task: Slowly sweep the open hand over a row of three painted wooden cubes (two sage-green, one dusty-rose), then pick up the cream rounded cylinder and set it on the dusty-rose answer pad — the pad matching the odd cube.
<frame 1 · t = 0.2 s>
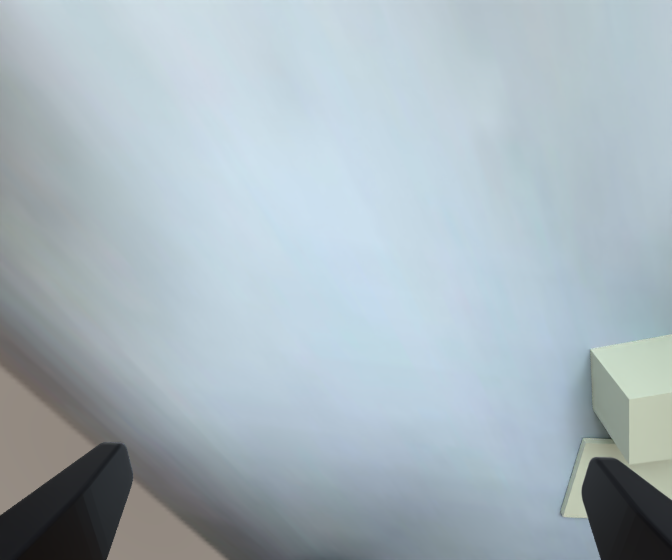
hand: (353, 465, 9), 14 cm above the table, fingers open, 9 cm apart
cube sage b: (630, 372, 25), on the table
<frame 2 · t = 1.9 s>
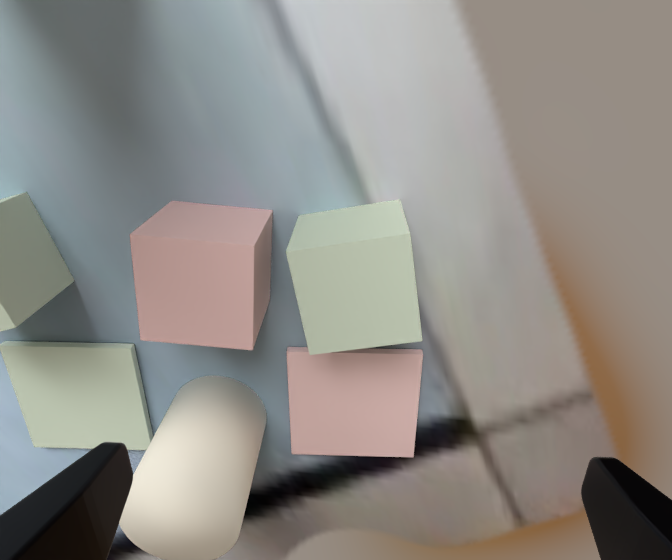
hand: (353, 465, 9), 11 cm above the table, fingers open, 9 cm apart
cube sage a: (356, 253, 20), on the table
cream rounded cylinder: (219, 414, 23), on the table
cube rose: (223, 251, 20), on the table
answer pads: (217, 398, 23), on the table
cube sage b: (10, 248, 20), on the table
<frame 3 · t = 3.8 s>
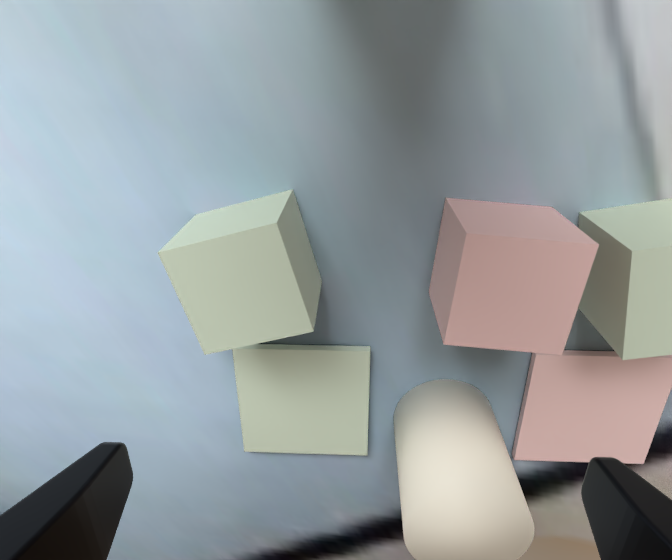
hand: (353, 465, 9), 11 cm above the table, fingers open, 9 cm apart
cube sage a: (629, 252, 19), on the table
cream rounded cylinder: (442, 418, 23), on the table
cube rose: (486, 250, 19), on the table
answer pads: (444, 402, 22), on the table
cube sage b: (260, 248, 19), on the table
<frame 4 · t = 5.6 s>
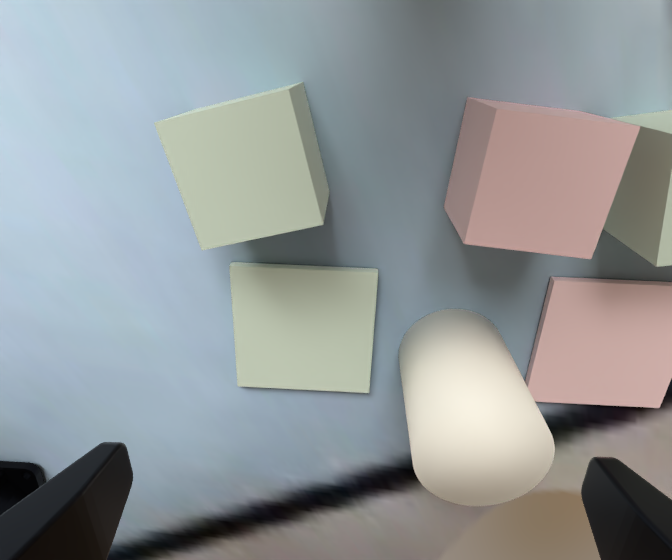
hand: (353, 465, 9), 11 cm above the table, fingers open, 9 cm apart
cube sage a: (659, 167, 17), on the table
cream rounded cylinder: (450, 354, 21), on the table
cube rose: (508, 161, 18), on the table
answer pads: (453, 335, 21), on the table
cube sage b: (265, 151, 18), on the table
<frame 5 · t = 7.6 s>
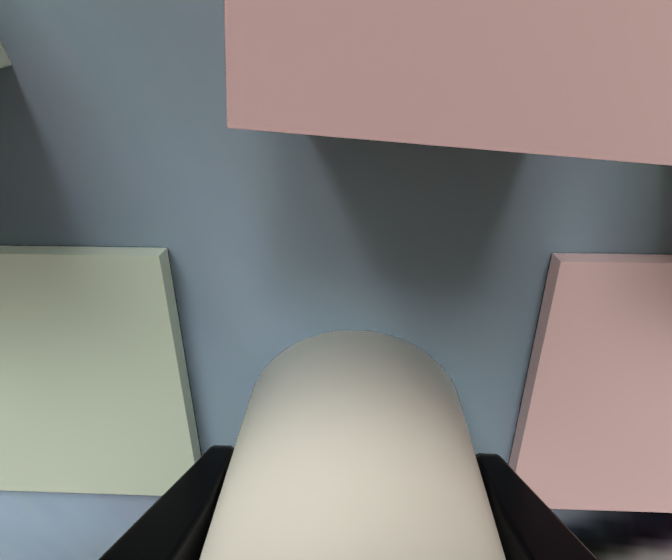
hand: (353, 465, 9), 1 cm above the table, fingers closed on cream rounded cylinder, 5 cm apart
cream rounded cylinder: (353, 420, 10), on the table, touching gripper
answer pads: (354, 384, 10), on the table
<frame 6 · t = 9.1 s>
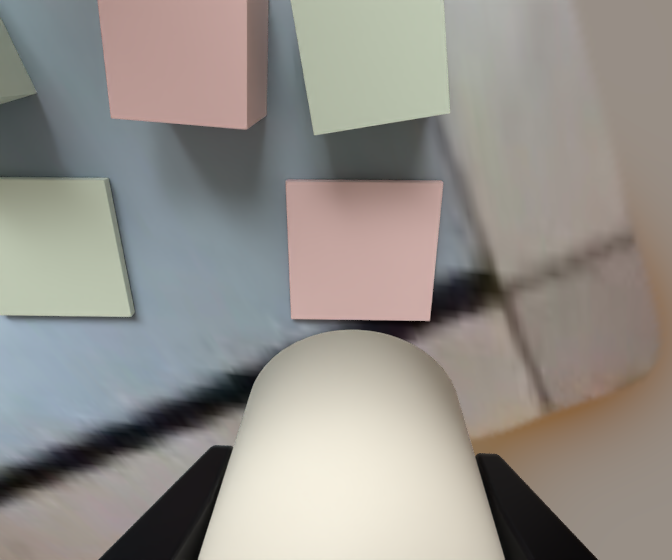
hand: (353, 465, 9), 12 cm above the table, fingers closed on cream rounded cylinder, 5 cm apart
cube sage a: (367, 51, 17), on the table
cream rounded cylinder: (353, 420, 10), point 10 cm above the table, touching gripper
cube rose: (211, 50, 17), on the table
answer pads: (205, 250, 20), on the table
when the fingers open (3 cm above the table, at t = 11.0 s): cream rounded cylinder drops 1 cm, resting on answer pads.
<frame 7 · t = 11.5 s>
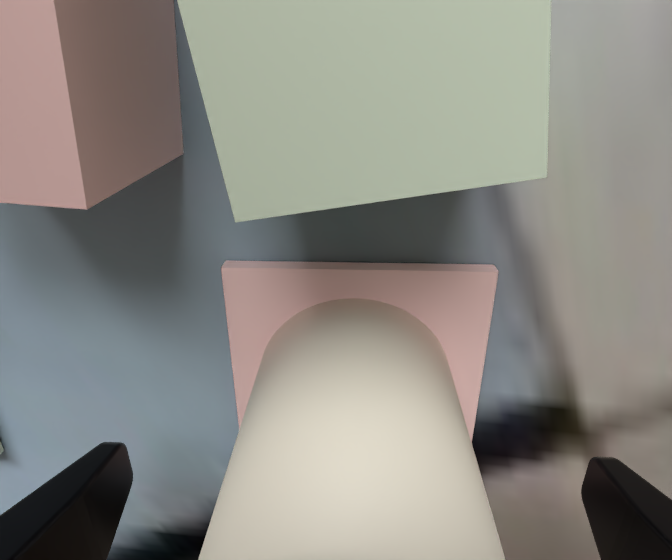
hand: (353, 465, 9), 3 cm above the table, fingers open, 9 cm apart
cube sage a: (362, 37, 9), on the table
cream rounded cylinder: (353, 382, 12), resting on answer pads
cube rose: (73, 38, 9), on the table
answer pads: (101, 366, 12), on the table
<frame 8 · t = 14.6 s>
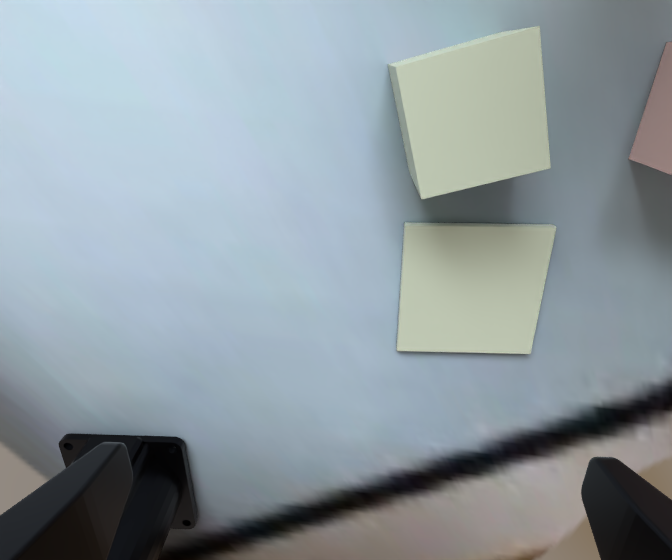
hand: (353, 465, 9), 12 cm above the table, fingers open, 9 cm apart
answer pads: (621, 292, 21), on the table
cube sage b: (451, 106, 18), on the table
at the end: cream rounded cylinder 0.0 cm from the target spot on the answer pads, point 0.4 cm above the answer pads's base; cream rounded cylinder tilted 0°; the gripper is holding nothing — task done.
